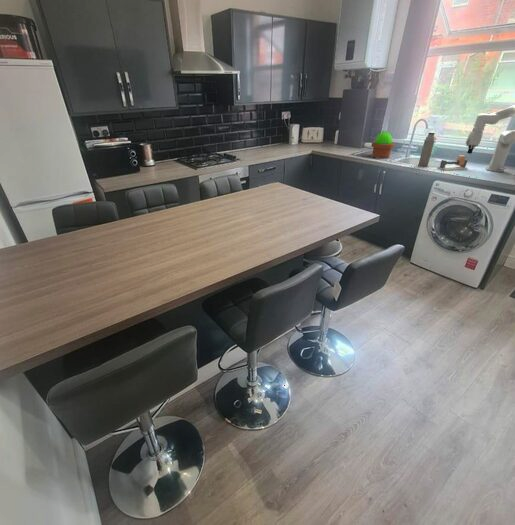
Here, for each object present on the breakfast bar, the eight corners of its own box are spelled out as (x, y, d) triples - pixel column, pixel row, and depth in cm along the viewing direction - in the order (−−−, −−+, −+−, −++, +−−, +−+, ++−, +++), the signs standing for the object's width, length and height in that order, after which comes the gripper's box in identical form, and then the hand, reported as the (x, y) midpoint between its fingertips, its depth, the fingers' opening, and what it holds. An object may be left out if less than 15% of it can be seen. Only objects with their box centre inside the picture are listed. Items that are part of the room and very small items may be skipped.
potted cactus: (389, 159, 296) (395, 132, 283) (367, 157, 306) (371, 131, 293) (393, 155, 312) (398, 130, 299) (372, 154, 322) (376, 129, 310)
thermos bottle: (416, 164, 273) (424, 132, 259) (424, 164, 273) (433, 132, 259) (420, 166, 266) (429, 133, 252) (429, 166, 267) (438, 133, 252)
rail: (467, 169, 255) (470, 160, 252) (444, 170, 253) (447, 161, 249) (458, 166, 264) (461, 158, 260) (436, 168, 261) (439, 159, 258)
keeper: (463, 165, 256) (466, 156, 252) (459, 166, 255) (462, 156, 251) (459, 164, 260) (462, 155, 256) (454, 164, 260) (458, 155, 256)
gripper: (482, 129, 249) (473, 152, 258) (466, 129, 247) (458, 152, 256) (489, 130, 242) (480, 154, 252) (473, 130, 240) (464, 154, 250)
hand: (469, 153), depth 254 cm, fingers closed
